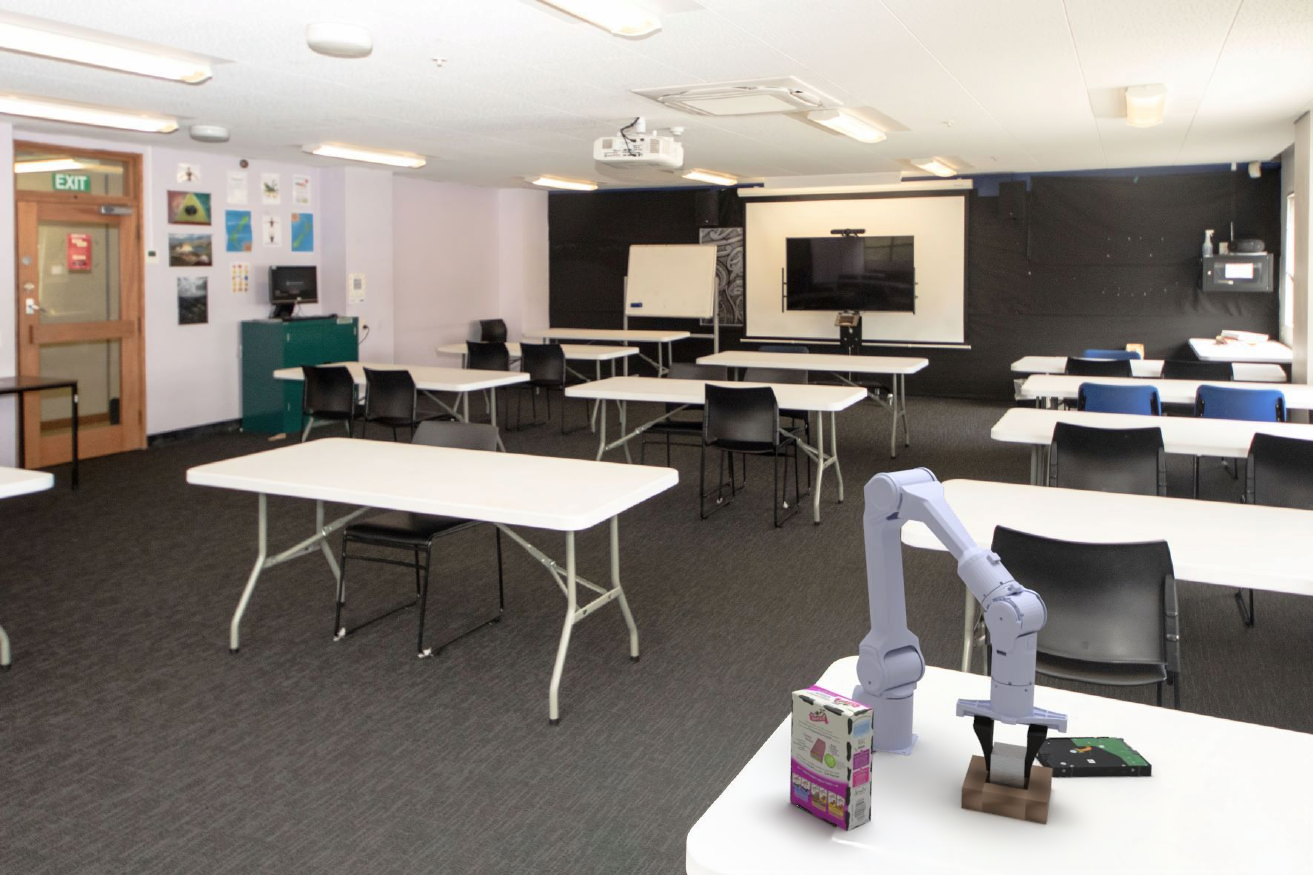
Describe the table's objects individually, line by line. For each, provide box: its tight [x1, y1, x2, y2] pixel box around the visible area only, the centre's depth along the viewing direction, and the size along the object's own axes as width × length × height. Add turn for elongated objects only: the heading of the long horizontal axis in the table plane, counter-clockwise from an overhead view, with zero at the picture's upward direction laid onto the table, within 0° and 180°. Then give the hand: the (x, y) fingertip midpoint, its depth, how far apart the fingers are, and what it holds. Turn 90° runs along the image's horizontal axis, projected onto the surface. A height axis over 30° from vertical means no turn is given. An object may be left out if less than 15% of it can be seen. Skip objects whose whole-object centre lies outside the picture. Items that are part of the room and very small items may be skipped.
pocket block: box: [960, 754, 1053, 825], centre depth 147 cm, size 11×11×4 cm
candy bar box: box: [789, 684, 874, 832], centre depth 143 cm, size 11×5×16 cm, turn 37°
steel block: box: [990, 741, 1027, 790], centre depth 146 cm, size 4×4×7 cm
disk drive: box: [1035, 736, 1153, 778], centre depth 158 cm, size 10×3×15 cm
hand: (1008, 771), depth 146 cm, fingers closed on steel block, 4 cm apart
